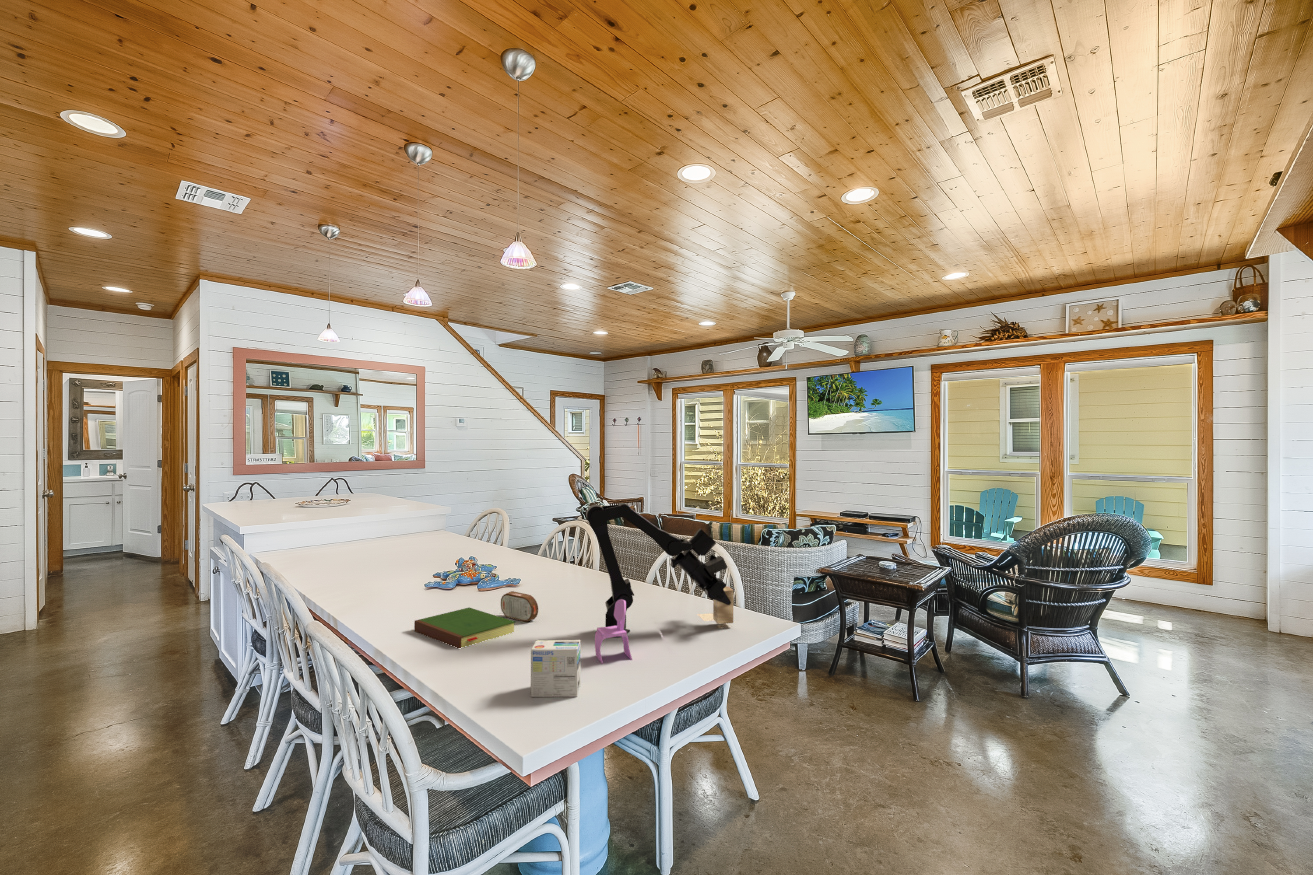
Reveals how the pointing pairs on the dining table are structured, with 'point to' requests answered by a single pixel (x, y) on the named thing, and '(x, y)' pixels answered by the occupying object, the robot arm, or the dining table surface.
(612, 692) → the dining table surface
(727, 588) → the maple block
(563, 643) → the light bulb box
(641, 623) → the dining table surface
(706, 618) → the slate board
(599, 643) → the toy chair
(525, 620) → the tin
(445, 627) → the hardcover book
